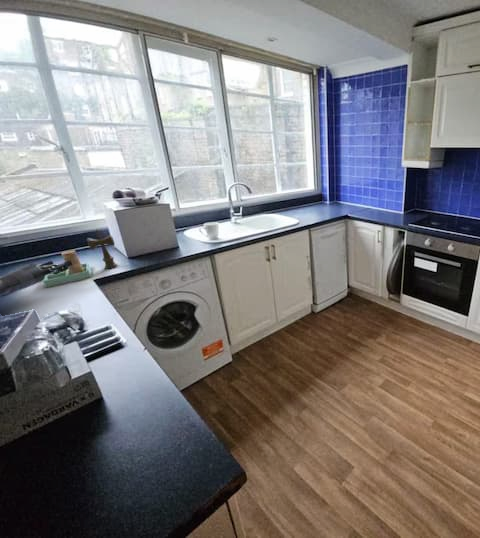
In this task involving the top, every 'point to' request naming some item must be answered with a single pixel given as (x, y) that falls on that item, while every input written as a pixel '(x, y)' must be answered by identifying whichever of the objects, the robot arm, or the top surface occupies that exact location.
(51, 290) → the top surface
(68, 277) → the grid
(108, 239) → the kendama
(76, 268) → the tan cylinder
